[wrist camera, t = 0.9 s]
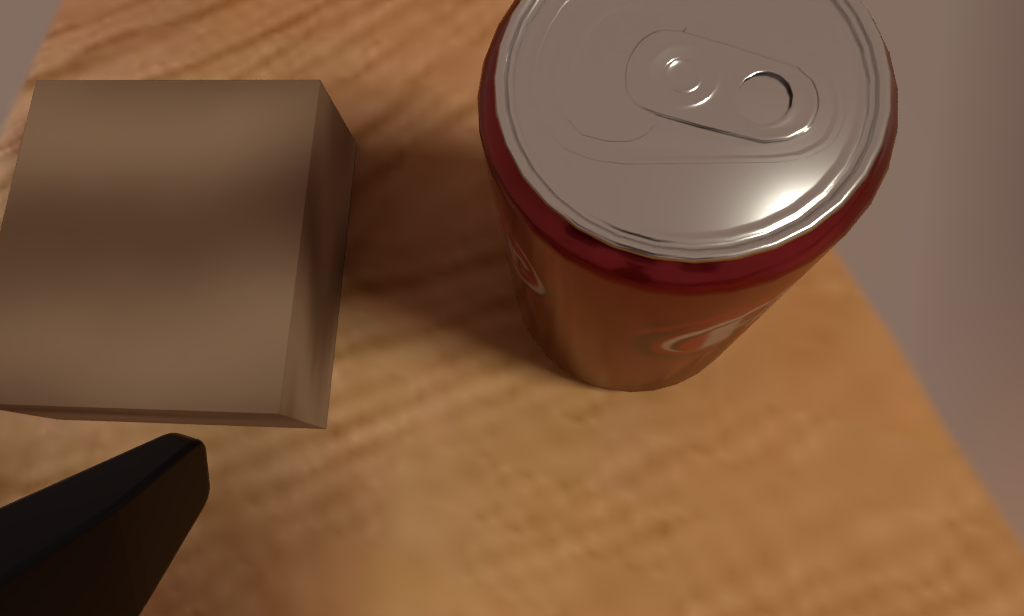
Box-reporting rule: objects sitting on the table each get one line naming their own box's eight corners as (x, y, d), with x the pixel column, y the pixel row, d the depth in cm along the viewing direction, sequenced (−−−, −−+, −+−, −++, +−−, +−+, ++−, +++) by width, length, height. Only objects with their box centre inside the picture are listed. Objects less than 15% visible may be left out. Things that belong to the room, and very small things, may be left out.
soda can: (480, 340, 24) (399, 181, 12) (569, 151, 25) (574, -151, 14) (693, 433, 22) (833, 356, 11) (773, 229, 24) (971, -31, 12)
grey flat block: (326, 428, 23) (279, 413, 19) (57, 419, 24) (-41, 402, 20) (356, 143, 26) (320, 79, 22) (113, 142, 26) (36, 80, 23)
